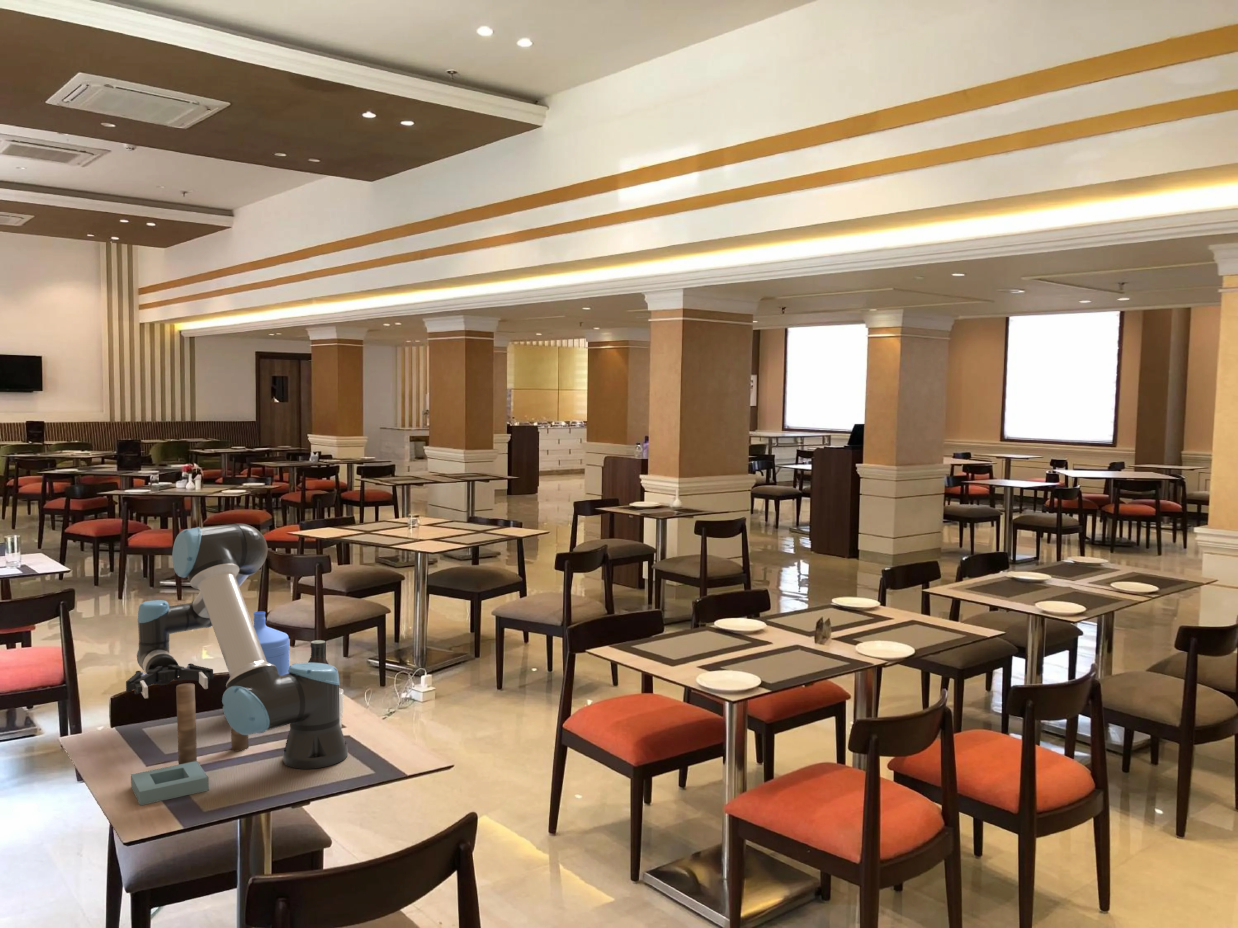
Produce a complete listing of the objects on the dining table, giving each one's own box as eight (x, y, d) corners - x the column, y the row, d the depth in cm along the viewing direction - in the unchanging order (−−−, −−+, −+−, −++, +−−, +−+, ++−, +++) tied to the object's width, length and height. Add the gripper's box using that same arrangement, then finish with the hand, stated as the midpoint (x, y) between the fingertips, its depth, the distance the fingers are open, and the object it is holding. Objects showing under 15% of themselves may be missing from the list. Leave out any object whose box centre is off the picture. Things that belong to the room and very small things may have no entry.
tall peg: (200, 766, 229) (198, 684, 228) (186, 772, 225) (184, 688, 224) (188, 763, 231) (186, 682, 229) (174, 769, 227) (172, 686, 226)
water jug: (279, 697, 282) (277, 604, 280) (299, 710, 270) (297, 613, 268) (224, 708, 272) (222, 611, 271) (242, 722, 260) (240, 621, 258)
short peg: (251, 746, 242) (251, 711, 241) (239, 751, 238) (238, 716, 238) (240, 744, 244) (239, 709, 243) (227, 749, 240) (226, 714, 240)
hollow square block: (131, 786, 217) (130, 773, 216) (197, 773, 225) (197, 760, 224) (140, 805, 207) (139, 791, 207) (208, 790, 215) (208, 777, 215)
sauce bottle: (304, 715, 266) (303, 645, 265) (305, 708, 272) (304, 639, 271) (329, 713, 268) (328, 643, 267) (329, 706, 274) (328, 638, 273)
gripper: (211, 673, 260) (230, 694, 243) (108, 689, 246) (120, 711, 228) (210, 646, 259) (229, 665, 242) (107, 660, 245) (119, 681, 228)
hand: (176, 687), depth 235 cm, fingers open, 13 cm apart
